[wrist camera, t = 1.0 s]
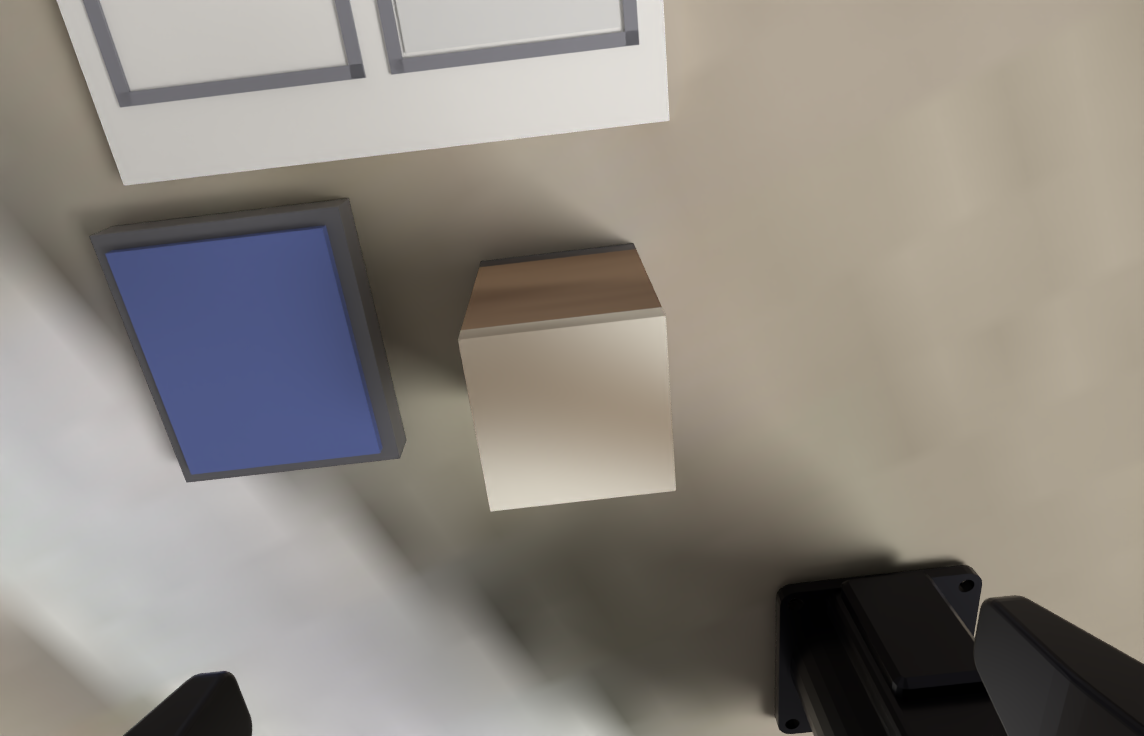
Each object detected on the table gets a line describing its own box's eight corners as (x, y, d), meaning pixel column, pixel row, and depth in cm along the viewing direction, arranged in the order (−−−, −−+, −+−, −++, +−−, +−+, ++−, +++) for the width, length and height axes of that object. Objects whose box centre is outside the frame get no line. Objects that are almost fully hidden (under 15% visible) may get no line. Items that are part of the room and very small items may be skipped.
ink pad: (406, 440, 21) (397, 464, 20) (202, 463, 21) (181, 488, 20) (348, 198, 18) (334, 209, 17) (112, 226, 18) (81, 239, 17)
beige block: (643, 380, 20) (676, 490, 15) (504, 396, 20) (490, 511, 15) (633, 242, 19) (665, 316, 14) (480, 260, 19) (457, 339, 14)
